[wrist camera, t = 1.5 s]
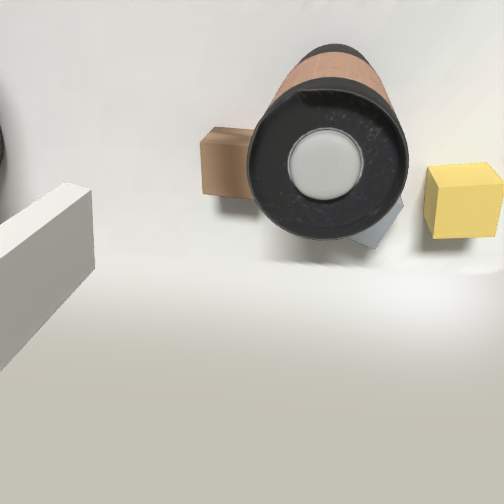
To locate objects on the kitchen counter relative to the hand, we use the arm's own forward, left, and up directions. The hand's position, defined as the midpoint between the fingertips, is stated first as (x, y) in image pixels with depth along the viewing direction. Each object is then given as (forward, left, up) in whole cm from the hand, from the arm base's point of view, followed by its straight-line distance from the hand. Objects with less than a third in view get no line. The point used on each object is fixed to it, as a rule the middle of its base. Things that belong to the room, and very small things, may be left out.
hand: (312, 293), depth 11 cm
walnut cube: (-7, -8, -29) cm, 31 cm away
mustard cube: (+14, -6, -29) cm, 33 cm away
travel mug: (0, 0, -29) cm, 29 cm away
